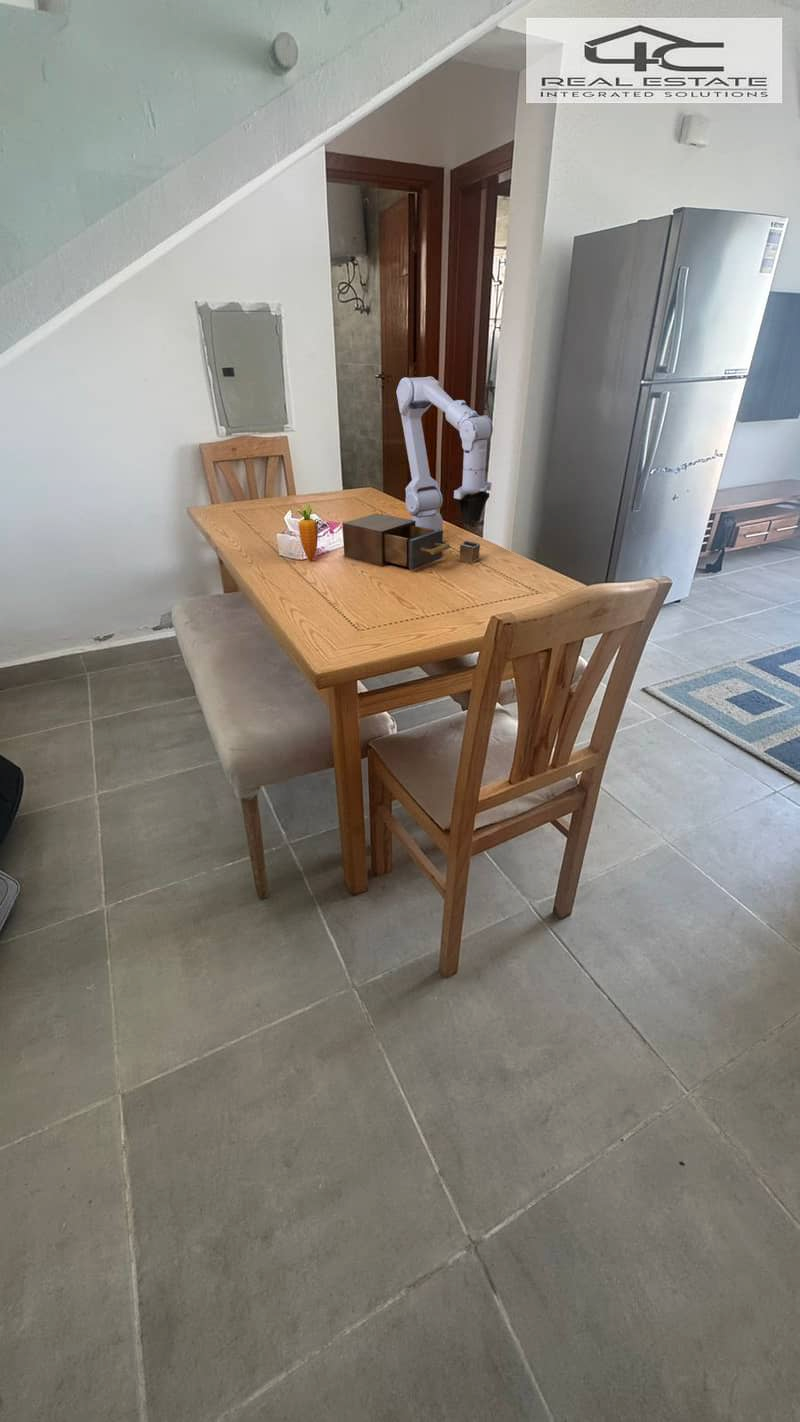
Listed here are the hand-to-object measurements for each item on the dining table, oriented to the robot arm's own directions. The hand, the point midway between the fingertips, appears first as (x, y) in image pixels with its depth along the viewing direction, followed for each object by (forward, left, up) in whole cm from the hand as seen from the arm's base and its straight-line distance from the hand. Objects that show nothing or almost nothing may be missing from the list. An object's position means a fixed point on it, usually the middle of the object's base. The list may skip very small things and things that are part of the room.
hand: (471, 522), depth 162 cm
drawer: (+12, -10, -10) cm, 18 cm away
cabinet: (+12, -22, -10) cm, 28 cm away
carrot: (+28, -34, -11) cm, 45 cm away
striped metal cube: (0, 0, -10) cm, 10 cm away
